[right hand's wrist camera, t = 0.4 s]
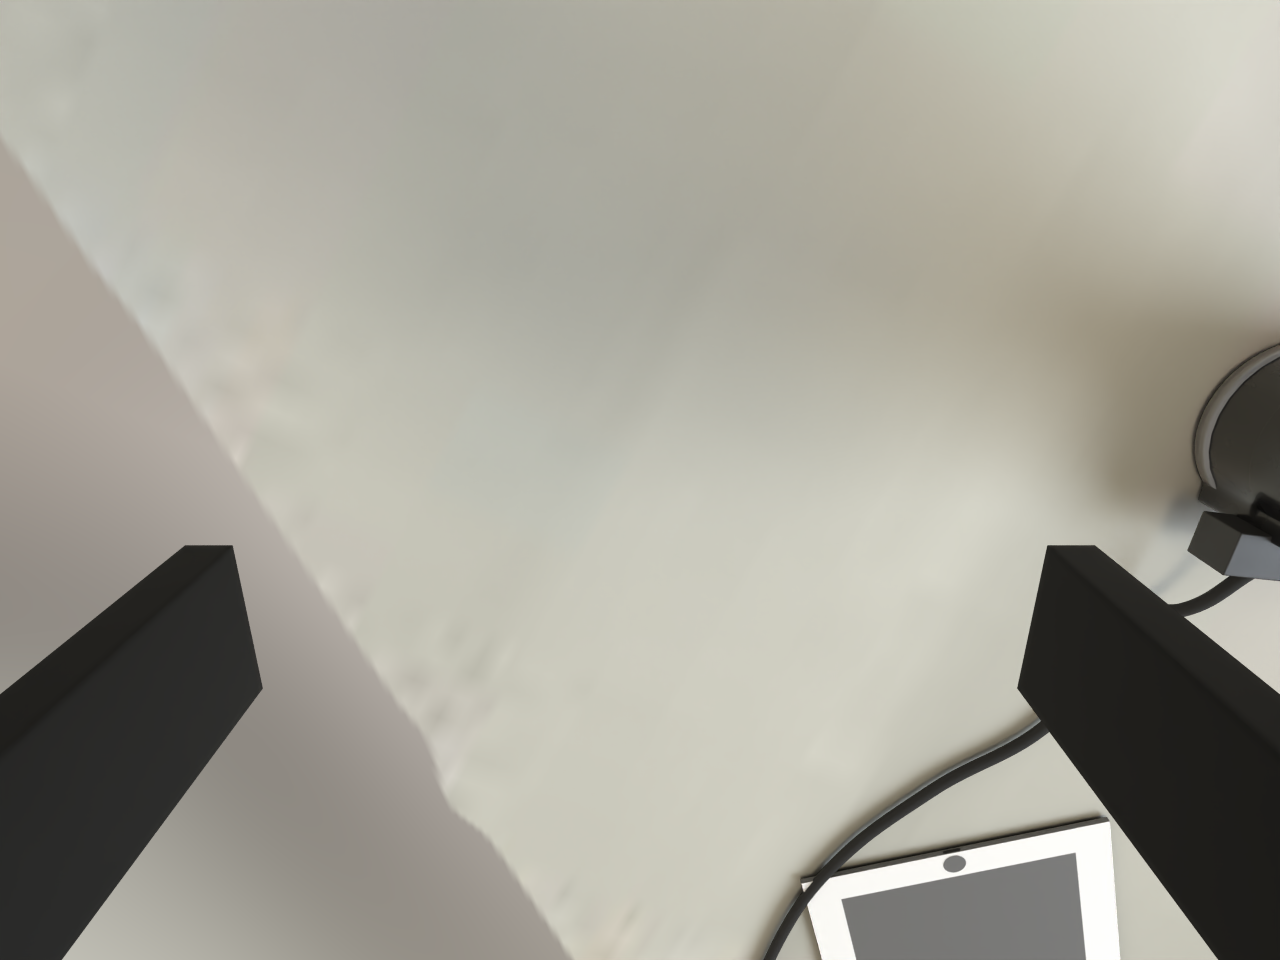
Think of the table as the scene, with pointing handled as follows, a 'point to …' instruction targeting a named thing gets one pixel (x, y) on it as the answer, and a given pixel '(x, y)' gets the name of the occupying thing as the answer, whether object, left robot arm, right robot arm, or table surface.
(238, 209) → the table surface
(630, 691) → the table surface
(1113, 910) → the tablet
